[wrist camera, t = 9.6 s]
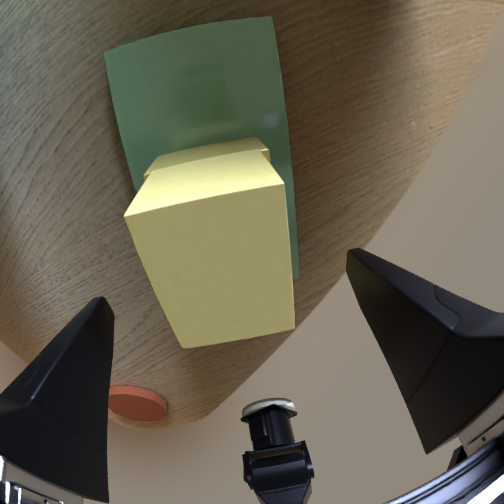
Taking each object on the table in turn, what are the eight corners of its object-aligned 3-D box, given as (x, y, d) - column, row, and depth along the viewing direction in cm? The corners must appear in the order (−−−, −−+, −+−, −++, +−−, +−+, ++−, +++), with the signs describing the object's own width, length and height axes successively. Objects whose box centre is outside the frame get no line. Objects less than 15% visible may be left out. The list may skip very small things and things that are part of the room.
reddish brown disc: (180, 403, 30) (180, 411, 29) (146, 418, 32) (145, 425, 31) (124, 377, 26) (122, 386, 25) (95, 396, 28) (94, 404, 27)
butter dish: (296, 269, 21) (314, 312, 17) (176, 292, 20) (172, 338, 17) (268, 20, 11) (289, -3, 8) (109, 54, 11) (74, 45, 7)
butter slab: (273, 264, 15) (295, 329, 11) (186, 280, 14) (182, 349, 11) (258, 148, 11) (284, 182, 7) (151, 170, 11) (122, 215, 7)
